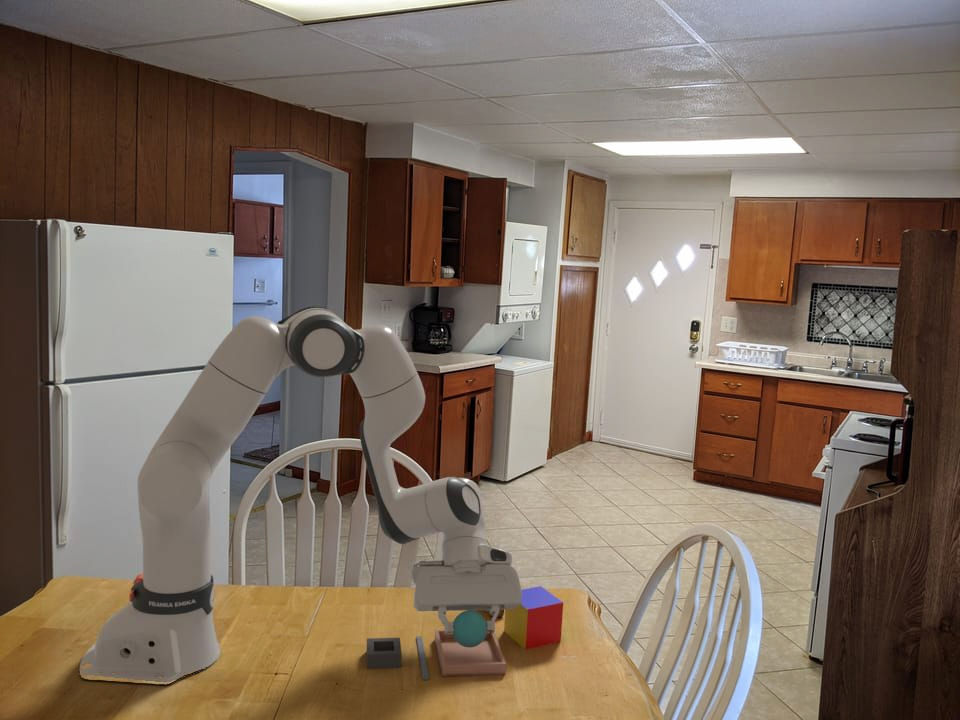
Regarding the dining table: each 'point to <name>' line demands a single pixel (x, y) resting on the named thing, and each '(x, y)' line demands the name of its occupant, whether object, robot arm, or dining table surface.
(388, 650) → the grey square frame
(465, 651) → the tray
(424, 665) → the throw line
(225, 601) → the dining table surface
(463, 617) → the ball
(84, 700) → the dining table surface
